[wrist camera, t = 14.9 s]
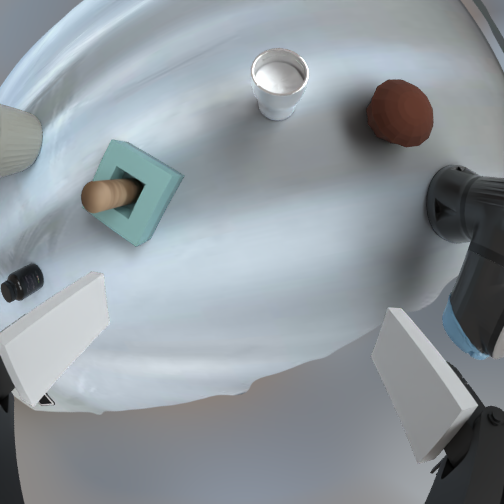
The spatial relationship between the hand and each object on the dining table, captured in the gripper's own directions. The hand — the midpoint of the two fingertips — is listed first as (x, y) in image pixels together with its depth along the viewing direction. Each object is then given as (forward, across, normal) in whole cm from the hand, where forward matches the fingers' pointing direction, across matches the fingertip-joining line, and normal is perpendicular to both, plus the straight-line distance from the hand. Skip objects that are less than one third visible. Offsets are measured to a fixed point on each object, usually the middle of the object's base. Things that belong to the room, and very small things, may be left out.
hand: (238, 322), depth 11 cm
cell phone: (+35, -76, -74) cm, 112 cm away
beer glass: (+35, +1, +19) cm, 40 cm away
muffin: (+35, +20, +20) cm, 45 cm away
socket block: (+35, -22, +2) cm, 41 cm away
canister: (+35, -56, +14) cm, 67 cm away
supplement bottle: (+35, -55, -19) cm, 68 cm away
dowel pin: (+33, -22, +2) cm, 40 cm away
